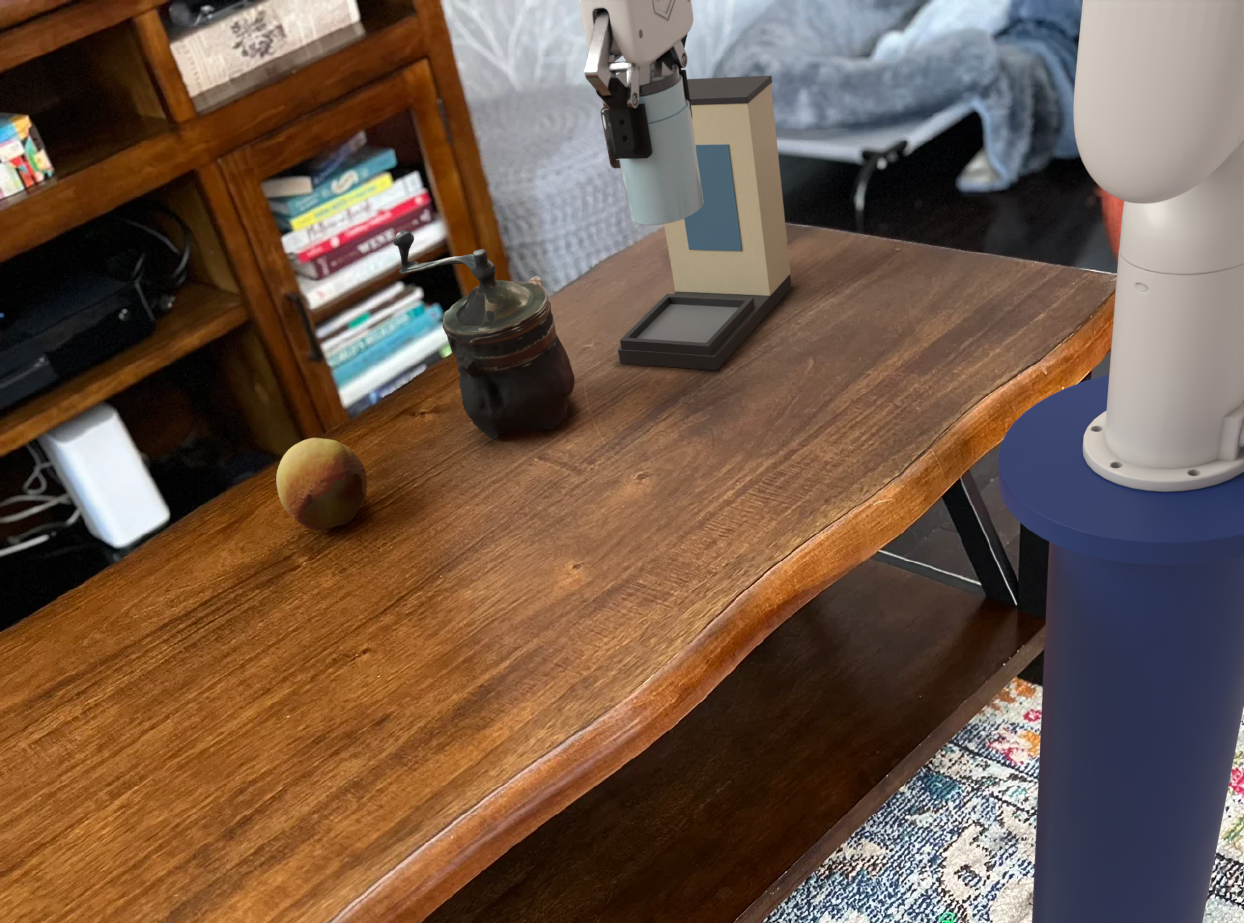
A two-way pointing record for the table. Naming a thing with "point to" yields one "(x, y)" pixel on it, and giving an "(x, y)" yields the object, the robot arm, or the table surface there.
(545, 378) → the coffee grinder
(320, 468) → the fruit
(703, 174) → the coffee maker
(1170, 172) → the robot arm
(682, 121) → the carafe
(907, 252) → the table surface
